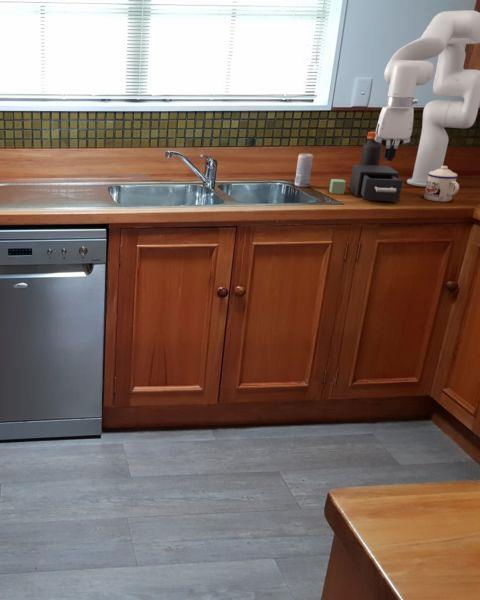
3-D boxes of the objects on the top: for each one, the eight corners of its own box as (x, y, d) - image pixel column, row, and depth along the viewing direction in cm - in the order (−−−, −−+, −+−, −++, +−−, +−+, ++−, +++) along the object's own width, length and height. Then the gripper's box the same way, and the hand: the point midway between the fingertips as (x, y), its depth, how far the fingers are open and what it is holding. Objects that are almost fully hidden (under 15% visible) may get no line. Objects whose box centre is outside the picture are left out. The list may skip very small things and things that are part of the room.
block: (329, 190, 228) (331, 179, 226) (341, 191, 227) (343, 179, 225) (331, 193, 224) (333, 181, 222) (344, 194, 223) (346, 181, 221)
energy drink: (307, 184, 238) (311, 153, 234) (310, 187, 233) (315, 155, 229) (293, 184, 239) (297, 153, 234) (296, 187, 234) (300, 155, 229)
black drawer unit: (402, 204, 204) (406, 183, 201) (365, 203, 206) (369, 181, 203) (389, 193, 220) (393, 173, 217) (355, 191, 223) (359, 171, 220)
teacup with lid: (416, 197, 218) (423, 164, 214) (437, 195, 221) (444, 163, 216) (443, 204, 208) (451, 170, 203) (464, 203, 210) (473, 169, 206)
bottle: (353, 185, 237) (362, 132, 230) (359, 182, 242) (368, 130, 235) (371, 187, 233) (381, 134, 226) (377, 184, 238) (387, 132, 230)
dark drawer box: (393, 198, 216) (399, 173, 213) (356, 197, 219) (360, 171, 215) (384, 190, 229) (389, 165, 226) (348, 188, 232) (352, 164, 228)
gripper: (421, 102, 198) (409, 158, 205) (371, 101, 201) (362, 157, 208) (428, 104, 191) (415, 162, 198) (377, 103, 194) (366, 161, 201)
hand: (388, 160), depth 203 cm, fingers closed
